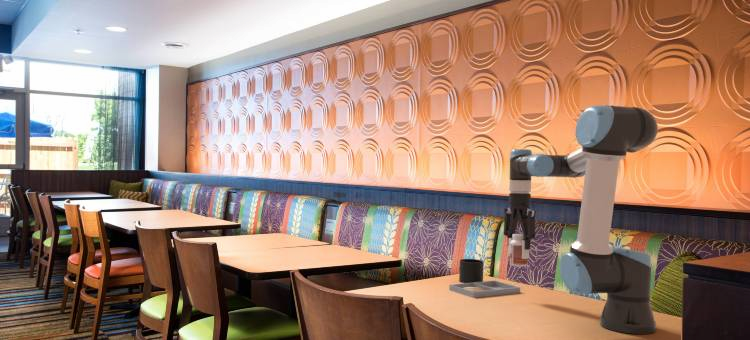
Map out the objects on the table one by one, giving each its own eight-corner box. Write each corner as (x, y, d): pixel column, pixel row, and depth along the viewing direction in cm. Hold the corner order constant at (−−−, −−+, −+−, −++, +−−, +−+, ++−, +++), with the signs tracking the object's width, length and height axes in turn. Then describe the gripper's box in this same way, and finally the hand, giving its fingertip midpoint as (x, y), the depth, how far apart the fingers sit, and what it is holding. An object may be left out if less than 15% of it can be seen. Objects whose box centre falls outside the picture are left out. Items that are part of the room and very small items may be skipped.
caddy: (520, 294, 217) (520, 287, 217) (473, 299, 206) (473, 292, 206) (494, 286, 229) (494, 280, 229) (449, 291, 218) (449, 284, 218)
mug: (468, 279, 244) (468, 257, 244) (487, 284, 234) (488, 261, 234) (450, 280, 239) (450, 258, 239) (469, 286, 229) (470, 263, 229)
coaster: (488, 293, 214) (488, 290, 214) (471, 295, 210) (471, 292, 210) (474, 289, 220) (474, 286, 220) (458, 291, 217) (458, 287, 217)
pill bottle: (531, 266, 209) (532, 234, 209) (519, 267, 205) (520, 235, 205) (517, 263, 214) (518, 232, 214) (506, 264, 211) (506, 233, 210)
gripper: (547, 193, 203) (546, 260, 203) (509, 191, 220) (507, 253, 220) (531, 193, 199) (530, 261, 199) (494, 191, 216) (492, 254, 216)
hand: (518, 257), depth 210 cm, fingers closed on pill bottle, 6 cm apart
